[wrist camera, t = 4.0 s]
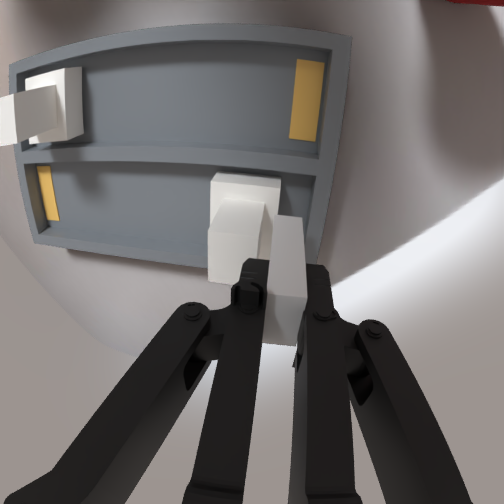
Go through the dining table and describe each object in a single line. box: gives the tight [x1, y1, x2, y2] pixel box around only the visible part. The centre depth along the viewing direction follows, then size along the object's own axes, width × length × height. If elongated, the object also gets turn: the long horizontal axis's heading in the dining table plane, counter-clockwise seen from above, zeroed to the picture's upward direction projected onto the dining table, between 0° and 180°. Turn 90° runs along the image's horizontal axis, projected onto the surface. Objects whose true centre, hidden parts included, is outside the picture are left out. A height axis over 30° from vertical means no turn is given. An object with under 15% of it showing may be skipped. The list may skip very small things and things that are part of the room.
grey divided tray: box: [9, 24, 352, 269], centre depth 19 cm, size 16×24×4 cm, turn 86°
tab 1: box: [0, 67, 84, 146], centre depth 14 cm, size 5×4×6 cm
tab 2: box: [208, 171, 281, 285], centre depth 18 cm, size 5×4×6 cm
